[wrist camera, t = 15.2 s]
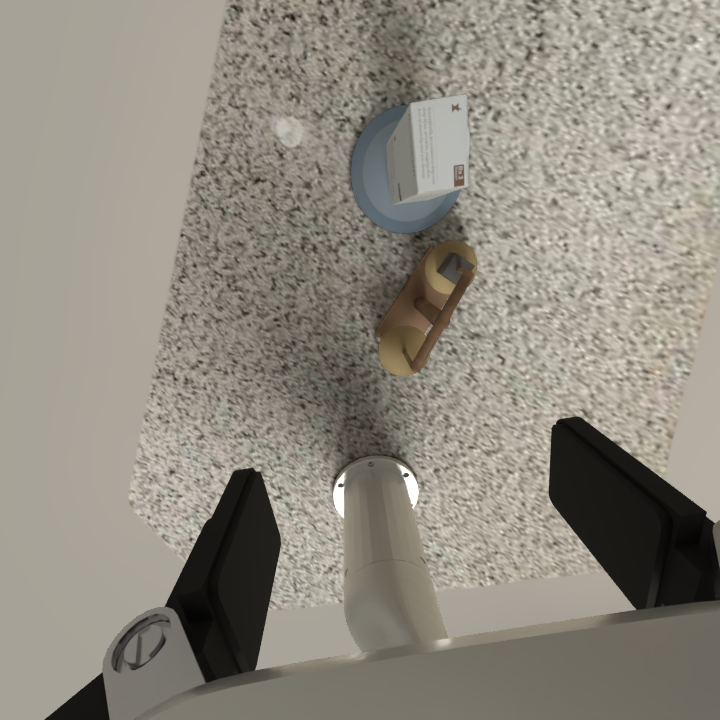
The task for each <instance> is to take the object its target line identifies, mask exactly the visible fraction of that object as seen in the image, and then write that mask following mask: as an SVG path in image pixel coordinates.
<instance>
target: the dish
mask: <svg viewBox="0 0 720 720" xmlns="http://www.w3.org/2000/svg"><path fill="white" fill-rule="evenodd" d="M408 106H409V105H401V106H397V107H393V108H391V109H388V110H386V111H384V112H383V113H381V114H379V115H378V116H377V117H376V118H374V119H373V120H372V121H371V122H370V123H369V124H368V125H367V127H366V128H365V129H364V131H363V132H362V134H361V136H360V137H359V139H358V141H357V144H356V146H355V149H354V153H353V156H352V163H351V184H352V188H353V192H354V195H355V198H356V201H357V203H358V205H359V207H360V208H361V210H362V211H363V213H364V214H365V215H366V216H367V217H368V218H369V219H370V220H371V221H372V222H373V223H374V224H376V225H377V226H379V227H381V228H383V229H385V230H388V231H390V232H395V233H414V232H418V231H422V230H424V229H427V228H429V227H431V226H432V225H434V224H435V223H437V222H438V221H440V220H441V219H442V218H443V217H444V216H445V215H446V214H447V212H448V211H449V210H450V209H451V207H452V206H453V204H454V203H455V201H456V199H457V197H458V194H459V192H460V189H459V190H456V191H453V192H450V193H447V194H444V195H442V196H439V197H436V198H433V199H430V200H427V201H419V202H411V203H404V204H397V205H392V204H391V198H390V191H389V182H388V172H387V156H386V144H387V142H388V140H389V139H390V137H391V135H392V134H393V132H394V130H395V128H396V127H397V125H398V123H399V122H400V120H401V118H402V116H403V115H404V113H405V112H406V110H407V108H408Z"/></svg>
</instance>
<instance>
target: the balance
mask: <svg viewBox="0 0 720 720" xmlns="http://www.w3.org/2000/svg"><path fill="white" fill-rule="evenodd" d="M476 272H477V258H476V255H475V253H474V251H473V250H472V249H471V248H470V247H469V246H468V245H467V244H465V243H463V242H460V241H446V242H443V243H441V244H439V245H437V246H436V247H435V248H434V247H429V248H428V250H427V251H426V253H425V255H424V256H423V258H422V259H421V261H420V262H419V264H418V266H417V267H416V269H415V270H414V272H413V273H412V275H411V277H410V278H409V280H408V281H407V283H406V284H405V286H404V288H403V289H402V291H401V292H400V294H399V296H398V297H397V299H396V300H395V302H394V303H393V305H392V307H391V308H390V310H389V311H388V313H387V314H386V316H385V318H384V319H383V321H382V322H381V324H380V325H379V327H378V329H377V330H376V332H375V335H376V336H378V337H380V338H381V341H380V343H379V348H378V354H379V358H380V361H381V364H382V365H383V367H384V368H385V369H386V370H387V371H389V372H390V373H392V374H395V375H398V376H408V375H412V374H414V373H416V372H420V370H421V369H422V368H423V367H424V366H425V364H426V363H427V361H428V359H429V356H430V352H431V350H432V349H433V347H434V345H435V343H436V342H437V340H438V338H439V336H440V335H441V333H442V331H443V329H445V328H446V327H447V326H448V325H449V323H450V317H451V315H452V313H453V311H454V310H455V308H456V306H457V304H458V303H459V301H460V299H461V297H462V295H463V294H464V292H465V290H466V288H467V287H468V286H469V285H470V284H471V282H472V281H473V279H474V277H475V275H476ZM447 299H448V300H447ZM446 301H447V302H446ZM445 302H446V303H445ZM444 303H445V305H444ZM443 305H444V307H443V309H442V310H440V309H441V308H442V306H443ZM430 324H432V325H433V327H432V328H431V330H430V332H429V334H428V335H427V337H426V336H425V335H424V333H425V331H426V330H427V328H428V327H429V325H430Z"/></svg>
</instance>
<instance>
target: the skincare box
mask: <svg viewBox="0 0 720 720" xmlns="http://www.w3.org/2000/svg"><path fill="white" fill-rule="evenodd" d="M469 150H470V134H469V129H468V101H467V94H462V95H456V96H449V97H443V98H437V99H430V100H424V101H418V102H411V103H410V104H409V106H408V108H407V110H406V112H405V113H404V115H403V116H402V118H401V120H400V122H399V123H398V125H397V127H396V128H395V130H394V132H393V134H392V135H391V137H390V139H389V140H388V142H387V144H386V156H387V172H388V182H389V191H390V198H391V204H392V205H397V204H404V203H411V202H419V201H427V200H430V199H433V198H436V197H439V196H442V195H444V194H447V193H450V192H453V191H456V190H459V189H462V188H466V187H468V186H469Z"/></svg>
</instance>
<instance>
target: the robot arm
mask: <svg viewBox="0 0 720 720" xmlns="http://www.w3.org/2000/svg"><path fill="white" fill-rule="evenodd" d="M418 496H419V488H418V484H417V480H416V478H415V475H414V474H413V472H412V470H411V469H410V468H409V467H408V466H407V465H406V464H404V463H403V462H401V461H400V460H397V459H395V458H392V457H388V456H379V455H375V456H367V457H363V458H360V459H358V460H355V461H353V462H352V463H350V464H349V465H347V466H346V467H345V468H344V469H343V470H342V471H341V472H340V473H339V475H338V476H337V478H336V480H335V483H334V488H333V501H334V505H335V507H336V509H337V511H338V512H339V514H340V515H341V516H342V517H343V518H344V612H345V617H346V622H347V625H348V628H349V631H350V633H351V635H352V637H353V639H354V641H355V643H356V644H357V646H358V647H359V649H360V650H361V651H362V652H360V653H353V654H347V655H341V656H335V657H328V658H322V659H316V660H310V661H305V662H299V663H294V664H289V665H283V666H278V667H272V668H267V669H261V670H255V668H256V665H257V660H258V656H259V651H260V646H261V641H262V636H263V631H264V626H265V621H266V616H267V611H268V606H269V601H270V596H271V592H272V587H273V582H274V577H275V572H276V567H277V562H278V557H279V552H280V547H281V538H280V533H279V530H278V527H277V523H276V520H275V517H274V514H273V510H272V507H271V504H270V500H269V497H268V494H267V491H266V487H265V484H264V481H263V478H262V475H261V473H260V472H255V470H254V468H248V469H242V470H236V471H234V472H233V474H232V476H231V478H230V480H229V482H228V484H227V486H226V488H225V491H224V493H223V495H222V497H221V499H220V501H219V503H218V505H217V508H216V510H215V512H214V514H213V516H212V518H210V519H209V520H207V522H206V523H205V525H204V527H203V529H202V531H201V533H200V535H199V537H198V539H197V541H196V543H195V545H194V547H193V549H192V551H191V553H190V556H189V558H188V560H187V562H186V564H185V566H184V568H183V570H182V572H181V574H180V576H179V578H178V580H177V582H176V585H175V586H174V588H173V591H172V593H171V595H170V597H169V599H168V601H167V603H166V605H165V607H158V608H154V609H151V610H149V611H146V612H144V613H143V614H141V615H139V616H138V617H136V618H135V619H134V620H133V621H131V622H130V623H129V624H128V625H126V626H125V627H124V628H123V629H122V630H121V632H120V633H119V634H118V635H117V636H116V637H115V639H114V640H113V642H112V643H111V645H110V646H109V648H108V650H107V652H106V655H105V658H104V660H103V672H102V673H101V674H100V675H98V676H97V677H96V678H95V679H94V680H92V681H91V682H90V683H89V684H88V685H87V686H85V687H84V688H83V689H81V690H80V691H79V692H78V693H77V694H75V695H74V696H73V697H72V698H70V699H69V700H68V701H67V702H66V703H64V704H63V705H62V706H61V707H60V708H58V709H57V710H56V711H55V712H53V713H52V714H51V715H50V716H48V717H47V718H46V719H45V720H720V520H719V521H718V522H717V523H714V522H713V521H711V520H710V519H709V518H707V517H706V513H707V512H706V511H705V510H703V509H702V508H701V507H699V506H698V505H697V504H695V503H694V502H693V501H691V500H690V499H689V498H687V497H686V496H685V495H683V494H682V493H681V492H679V491H678V490H677V489H675V488H674V487H672V486H671V485H670V484H669V483H667V482H666V481H665V480H663V479H662V478H661V477H659V476H658V475H657V474H655V473H654V472H653V471H651V470H650V469H649V468H647V467H646V466H645V465H643V464H642V463H641V462H639V461H638V460H637V459H635V458H634V457H633V456H631V455H630V454H629V453H627V452H626V451H625V450H623V449H622V448H621V447H619V446H618V445H617V444H615V443H614V442H613V441H611V440H610V439H609V438H607V437H606V436H605V435H603V434H602V433H601V432H599V431H598V430H597V429H595V428H594V427H593V426H591V425H590V424H589V423H587V422H586V421H585V420H583V419H582V418H580V417H571V418H564V419H559V420H558V421H557V422H556V425H553V427H552V434H551V455H550V477H549V497H550V500H551V502H552V504H553V505H554V507H555V508H556V509H557V510H558V512H559V513H560V514H561V515H562V517H563V518H564V519H565V520H566V522H567V523H568V524H569V525H570V527H571V528H572V529H573V531H574V532H575V533H576V534H577V536H578V537H579V538H580V539H581V541H582V542H583V543H584V544H585V546H586V547H587V548H588V549H589V551H590V552H591V553H592V555H593V556H594V557H595V558H596V560H597V561H598V562H599V563H600V565H601V566H602V567H603V568H604V570H605V571H606V572H607V573H608V575H609V576H610V577H611V578H612V580H613V581H614V582H615V583H616V585H617V586H618V587H619V589H620V590H621V591H622V592H623V594H624V595H625V596H626V597H627V599H628V600H629V601H630V602H631V604H632V605H633V606H634V607H635V608H636V609H637V610H633V611H627V612H620V613H613V614H607V615H600V616H593V617H586V618H579V619H572V620H566V621H560V622H553V623H545V624H539V625H533V626H526V627H519V628H513V629H506V630H499V631H493V632H486V633H480V634H473V635H467V636H461V637H454V638H448V635H447V632H446V629H445V626H444V623H443V620H442V616H441V613H440V609H439V606H438V602H437V598H436V594H435V591H434V587H433V583H432V580H431V576H430V572H429V568H428V564H427V561H426V557H425V553H424V549H423V545H422V541H421V538H420V534H419V530H418V526H417V522H416V518H415V515H414V511H413V509H414V507H415V505H416V503H417V500H418Z"/></svg>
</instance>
